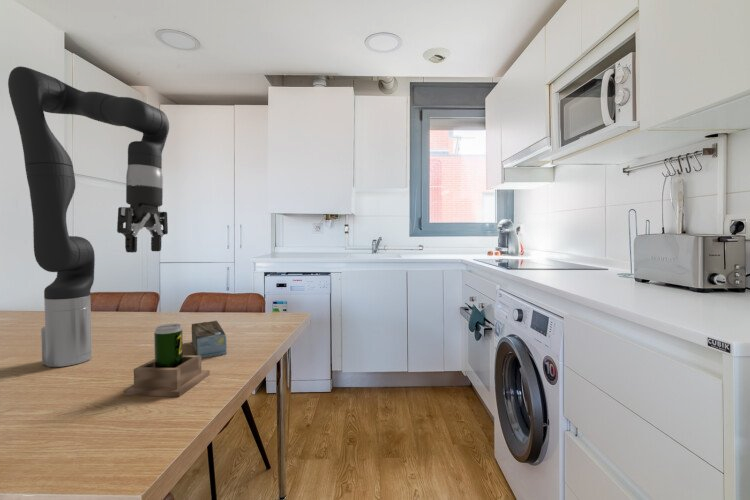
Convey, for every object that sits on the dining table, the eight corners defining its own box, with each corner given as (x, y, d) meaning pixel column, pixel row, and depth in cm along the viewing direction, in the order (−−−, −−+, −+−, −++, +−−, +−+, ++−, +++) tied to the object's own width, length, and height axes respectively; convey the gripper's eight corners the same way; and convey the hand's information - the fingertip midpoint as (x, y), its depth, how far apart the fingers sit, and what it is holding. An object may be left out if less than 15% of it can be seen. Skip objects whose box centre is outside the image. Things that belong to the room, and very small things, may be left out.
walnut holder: (123, 395, 74) (123, 371, 74) (161, 373, 86) (161, 353, 85) (179, 396, 73) (179, 372, 73) (209, 374, 85) (209, 353, 85)
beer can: (155, 386, 76) (154, 330, 75) (154, 378, 80) (153, 325, 80) (184, 381, 79) (183, 327, 78) (181, 373, 83) (181, 322, 83)
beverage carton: (195, 359, 96) (195, 335, 96) (190, 342, 113) (190, 322, 113) (227, 355, 100) (227, 331, 100) (218, 339, 117) (217, 319, 117)
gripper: (150, 190, 95) (149, 250, 95) (106, 180, 80) (106, 252, 81) (177, 190, 94) (176, 251, 95) (138, 181, 80) (137, 253, 80)
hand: (144, 251), depth 88 cm, fingers open, 8 cm apart
